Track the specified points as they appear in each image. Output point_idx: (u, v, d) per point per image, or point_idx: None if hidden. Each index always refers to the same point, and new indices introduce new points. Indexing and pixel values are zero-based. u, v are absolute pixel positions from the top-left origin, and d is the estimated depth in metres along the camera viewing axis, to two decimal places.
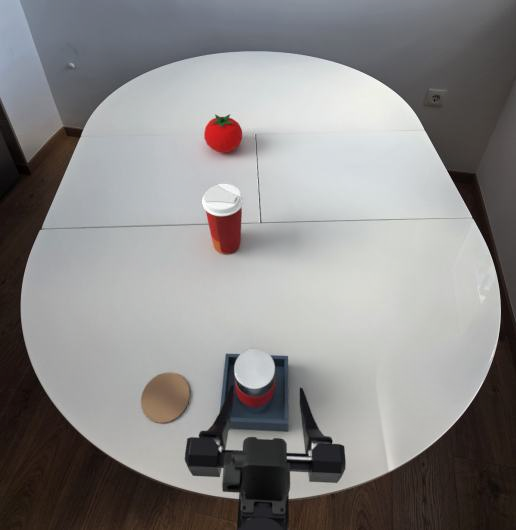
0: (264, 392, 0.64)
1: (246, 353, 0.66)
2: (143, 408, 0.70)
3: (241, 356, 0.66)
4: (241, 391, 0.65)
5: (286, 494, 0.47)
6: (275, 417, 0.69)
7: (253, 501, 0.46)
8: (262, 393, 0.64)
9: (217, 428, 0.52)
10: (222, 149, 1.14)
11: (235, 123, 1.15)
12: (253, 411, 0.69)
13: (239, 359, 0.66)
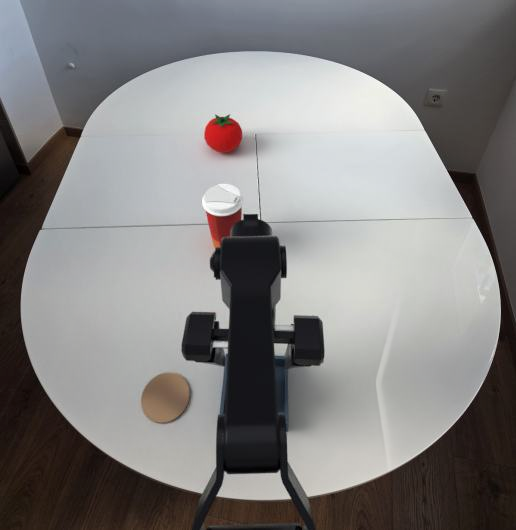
0: None
1: None
2: (143, 408, 0.70)
3: None
4: None
5: None
6: None
7: None
8: None
9: None
10: (222, 149, 1.14)
11: (235, 123, 1.15)
12: None
13: None
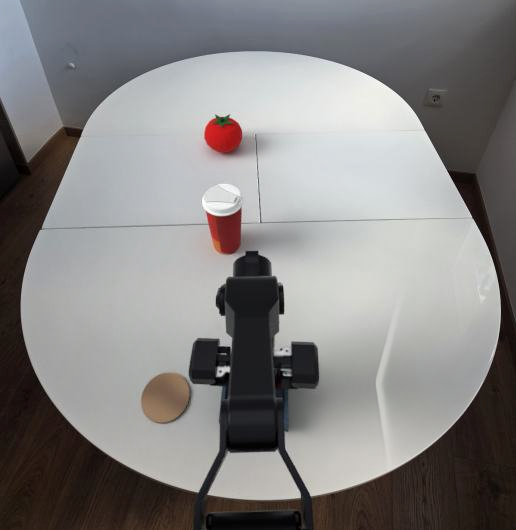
0: None
1: None
2: (143, 408, 0.70)
3: None
4: None
5: None
6: None
7: None
8: None
9: None
10: (222, 148, 1.14)
11: (235, 123, 1.15)
12: None
13: None
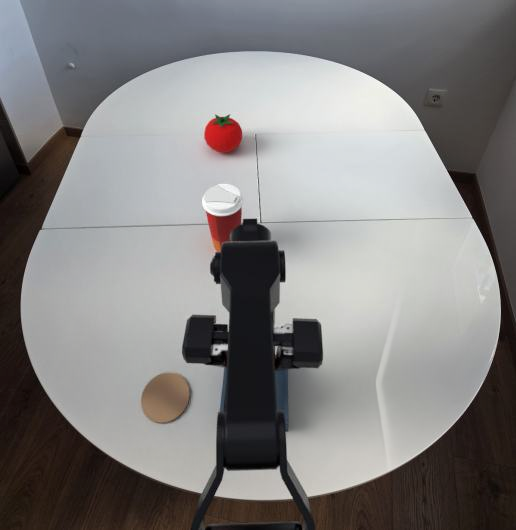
0: None
1: None
2: (143, 408, 0.70)
3: None
4: None
5: None
6: None
7: None
8: None
9: None
10: (222, 149, 1.14)
11: (235, 123, 1.15)
12: None
13: None
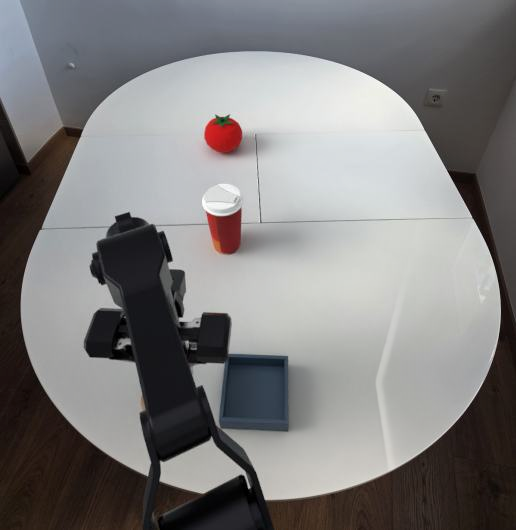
0: None
1: None
2: (143, 408, 0.70)
3: None
4: None
5: None
6: (275, 417, 0.69)
7: None
8: None
9: None
10: (222, 149, 1.14)
11: (235, 123, 1.15)
12: None
13: None
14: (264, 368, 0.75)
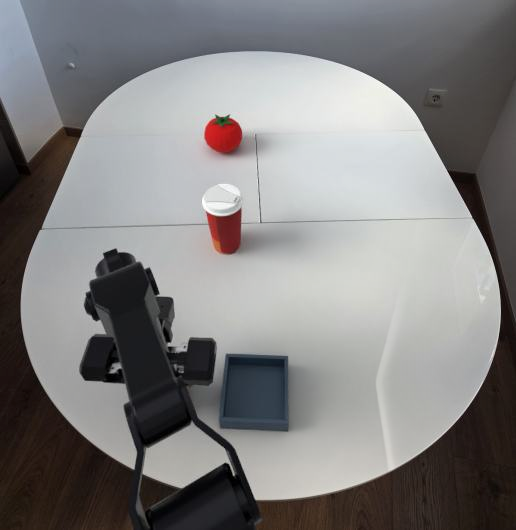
0: None
1: None
2: None
3: None
4: None
5: None
6: (275, 417, 0.69)
7: None
8: None
9: None
10: (222, 149, 1.14)
11: (235, 123, 1.15)
12: None
13: None
14: (264, 368, 0.75)
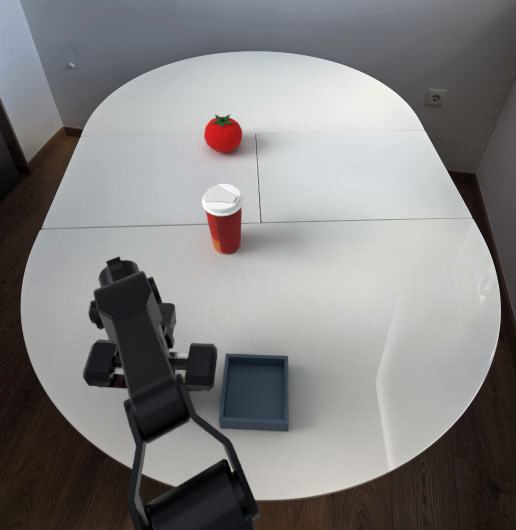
0: None
1: None
2: None
3: None
4: None
5: (168, 331, 0.63)
6: (275, 417, 0.69)
7: None
8: None
9: None
10: (222, 148, 1.14)
11: (235, 123, 1.15)
12: None
13: None
14: (264, 368, 0.75)
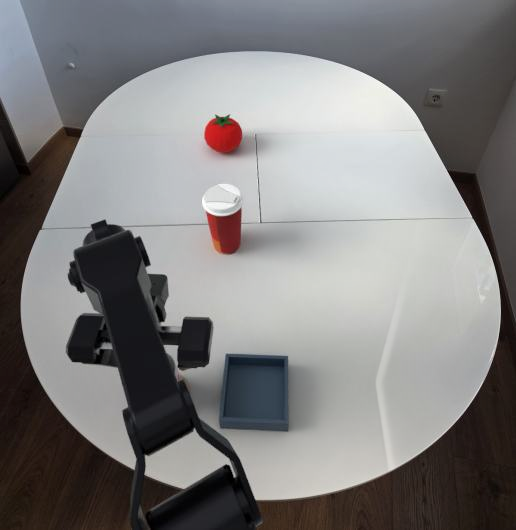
0: None
1: None
2: None
3: None
4: None
5: (159, 302, 0.57)
6: (275, 417, 0.69)
7: None
8: None
9: None
10: (222, 148, 1.14)
11: (235, 123, 1.15)
12: None
13: None
14: (264, 368, 0.75)
